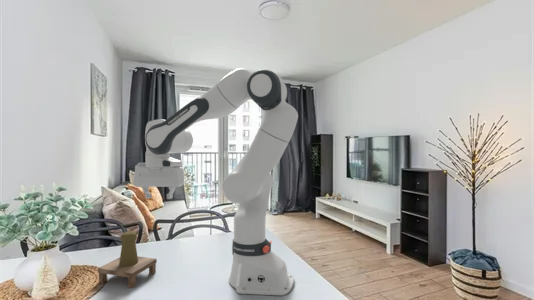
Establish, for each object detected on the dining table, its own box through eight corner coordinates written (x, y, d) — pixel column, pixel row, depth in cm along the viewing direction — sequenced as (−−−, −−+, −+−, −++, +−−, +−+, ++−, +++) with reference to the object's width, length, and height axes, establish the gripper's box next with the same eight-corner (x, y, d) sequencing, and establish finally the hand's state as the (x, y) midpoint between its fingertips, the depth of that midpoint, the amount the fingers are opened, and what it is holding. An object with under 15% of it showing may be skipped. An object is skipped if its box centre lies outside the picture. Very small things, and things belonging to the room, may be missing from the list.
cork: (115, 266, 92) (115, 234, 92) (126, 259, 98) (126, 229, 98) (130, 267, 91) (130, 235, 91) (141, 260, 97) (141, 230, 97)
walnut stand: (156, 272, 99) (156, 258, 99) (132, 288, 87) (132, 273, 87) (125, 267, 102) (125, 254, 102) (97, 282, 91) (98, 268, 91)
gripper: (129, 162, 102) (130, 199, 101) (176, 162, 96) (177, 200, 96) (140, 162, 108) (141, 196, 108) (186, 161, 103) (186, 197, 103)
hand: (159, 198), depth 102 cm, fingers open, 8 cm apart
